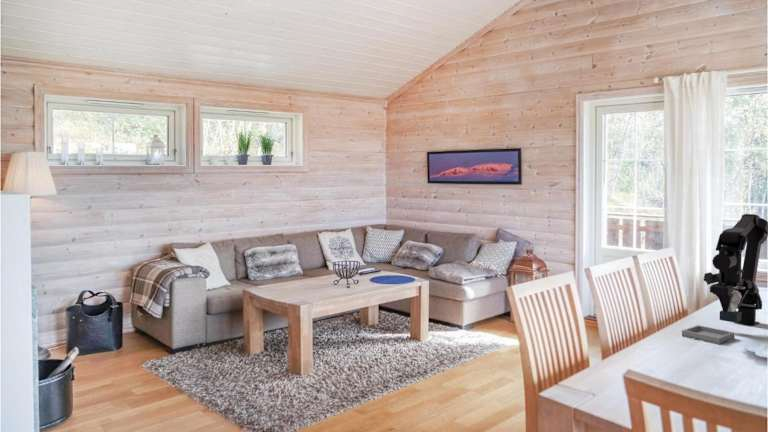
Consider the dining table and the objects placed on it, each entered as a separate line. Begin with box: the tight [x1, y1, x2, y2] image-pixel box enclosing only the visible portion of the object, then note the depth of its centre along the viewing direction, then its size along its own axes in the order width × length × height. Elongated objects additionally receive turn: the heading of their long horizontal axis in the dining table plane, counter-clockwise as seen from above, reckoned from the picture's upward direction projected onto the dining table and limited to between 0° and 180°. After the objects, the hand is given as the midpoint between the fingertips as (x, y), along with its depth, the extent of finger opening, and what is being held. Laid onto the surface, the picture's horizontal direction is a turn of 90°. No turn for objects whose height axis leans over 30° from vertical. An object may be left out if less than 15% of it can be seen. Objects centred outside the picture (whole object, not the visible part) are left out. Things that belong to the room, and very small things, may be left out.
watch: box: [719, 289, 742, 324], centre depth 212 cm, size 6×8×11 cm
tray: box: [681, 324, 735, 345], centre depth 208 cm, size 11×13×2 cm
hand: (730, 310), depth 213 cm, fingers closed on watch, 8 cm apart
